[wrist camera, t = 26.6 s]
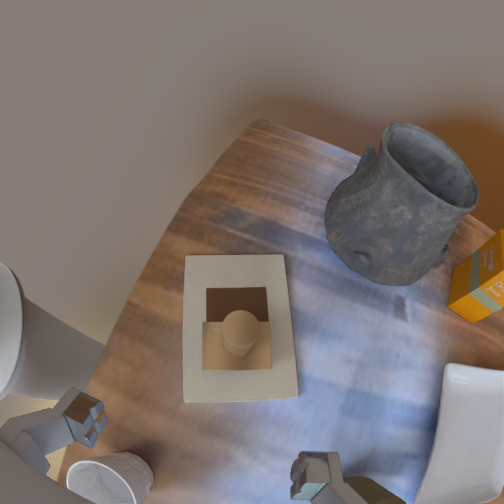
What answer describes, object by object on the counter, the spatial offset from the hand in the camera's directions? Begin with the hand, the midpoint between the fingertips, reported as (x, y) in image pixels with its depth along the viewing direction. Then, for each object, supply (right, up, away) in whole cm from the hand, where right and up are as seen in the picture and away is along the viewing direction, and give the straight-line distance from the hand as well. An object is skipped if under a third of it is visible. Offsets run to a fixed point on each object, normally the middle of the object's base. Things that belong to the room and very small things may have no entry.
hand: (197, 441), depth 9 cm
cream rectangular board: (0, -2, +27) cm, 27 cm away
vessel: (+23, +8, +35) cm, 43 cm away
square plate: (+40, -26, +18) cm, 50 cm away
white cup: (-13, -21, +15) cm, 29 cm away
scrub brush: (0, -5, +24) cm, 25 cm away
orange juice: (+42, -1, +32) cm, 53 cm away
